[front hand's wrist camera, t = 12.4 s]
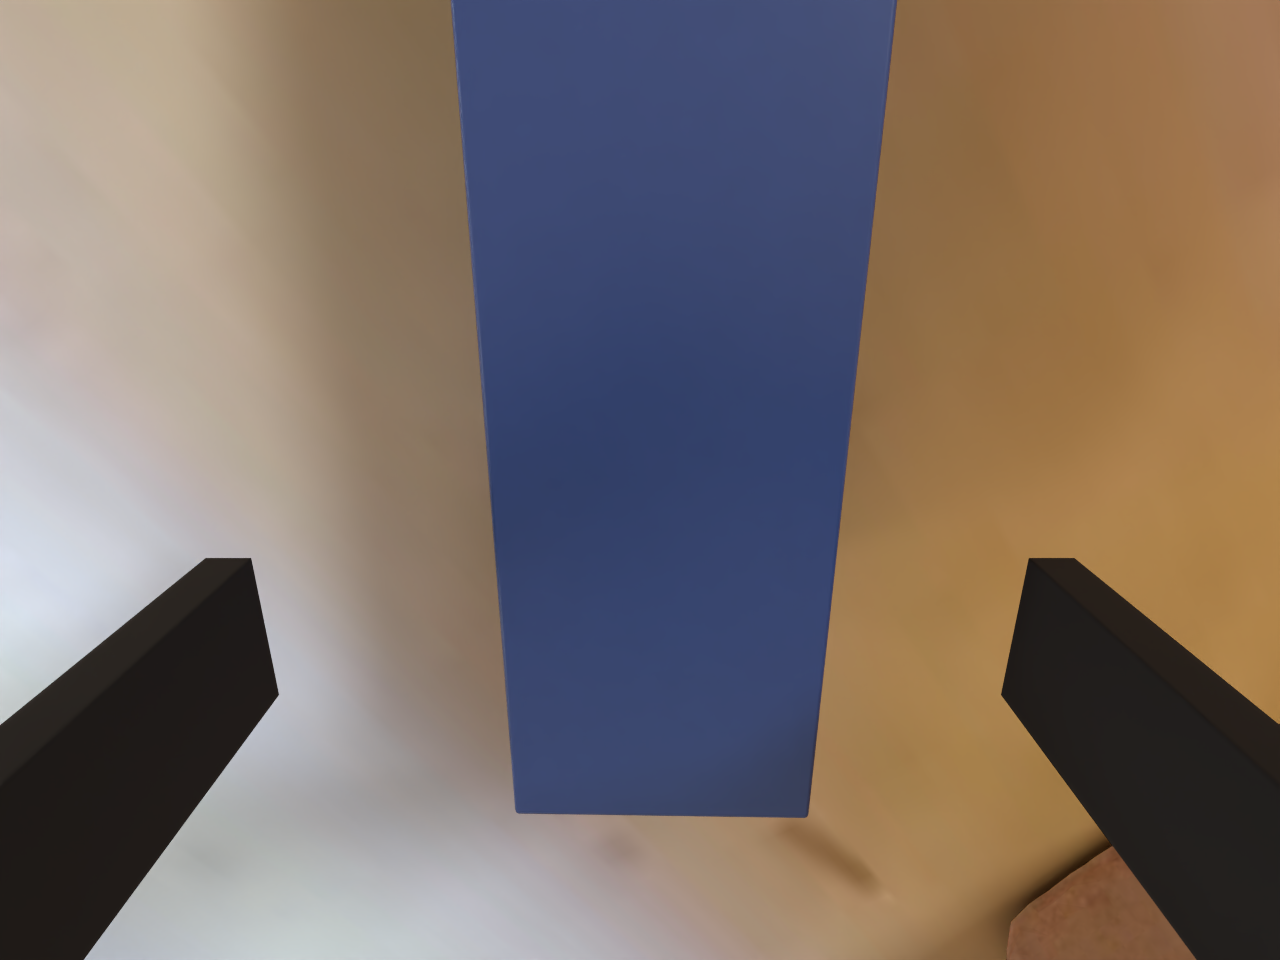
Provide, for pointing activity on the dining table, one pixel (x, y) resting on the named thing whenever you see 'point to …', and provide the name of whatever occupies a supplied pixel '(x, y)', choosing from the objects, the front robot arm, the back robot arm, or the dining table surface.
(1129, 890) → the stone
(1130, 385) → the dining table surface
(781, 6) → the bar
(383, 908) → the dining table surface
